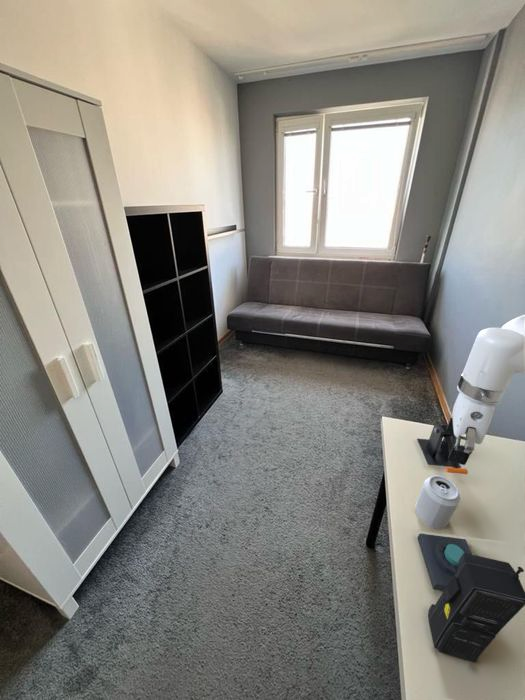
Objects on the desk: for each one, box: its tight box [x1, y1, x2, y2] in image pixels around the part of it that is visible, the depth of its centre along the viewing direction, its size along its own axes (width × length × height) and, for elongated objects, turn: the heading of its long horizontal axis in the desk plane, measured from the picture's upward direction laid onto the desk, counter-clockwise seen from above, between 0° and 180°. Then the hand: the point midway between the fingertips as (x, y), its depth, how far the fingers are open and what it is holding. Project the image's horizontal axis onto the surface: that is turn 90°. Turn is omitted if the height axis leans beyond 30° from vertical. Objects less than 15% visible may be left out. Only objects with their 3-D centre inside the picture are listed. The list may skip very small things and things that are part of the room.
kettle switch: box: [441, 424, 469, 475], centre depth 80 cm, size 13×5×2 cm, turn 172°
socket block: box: [417, 533, 473, 591], centre depth 61 cm, size 10×10×4 cm
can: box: [414, 475, 461, 530], centre depth 68 cm, size 8×8×12 cm
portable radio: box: [427, 553, 525, 663], centre depth 46 cm, size 8×6×25 cm
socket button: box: [444, 544, 464, 567], centre depth 60 cm, size 4×4×2 cm
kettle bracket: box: [416, 420, 462, 468], centre depth 85 cm, size 10×9×12 cm
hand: (454, 446), depth 65 cm, fingers open, 9 cm apart
